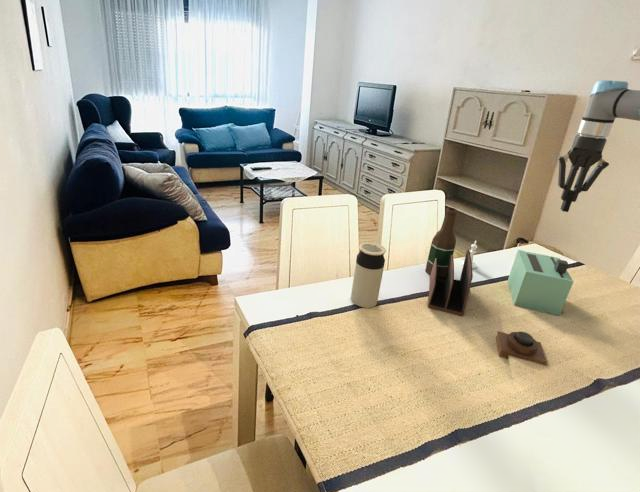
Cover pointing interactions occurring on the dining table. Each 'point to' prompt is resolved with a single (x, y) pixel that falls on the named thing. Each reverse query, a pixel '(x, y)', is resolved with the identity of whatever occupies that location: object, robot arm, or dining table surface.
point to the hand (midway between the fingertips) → (564, 210)
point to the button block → (519, 348)
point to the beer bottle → (443, 244)
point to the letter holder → (450, 287)
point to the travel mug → (368, 274)
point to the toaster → (538, 283)
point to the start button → (524, 338)
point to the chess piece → (472, 254)
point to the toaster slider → (561, 266)
